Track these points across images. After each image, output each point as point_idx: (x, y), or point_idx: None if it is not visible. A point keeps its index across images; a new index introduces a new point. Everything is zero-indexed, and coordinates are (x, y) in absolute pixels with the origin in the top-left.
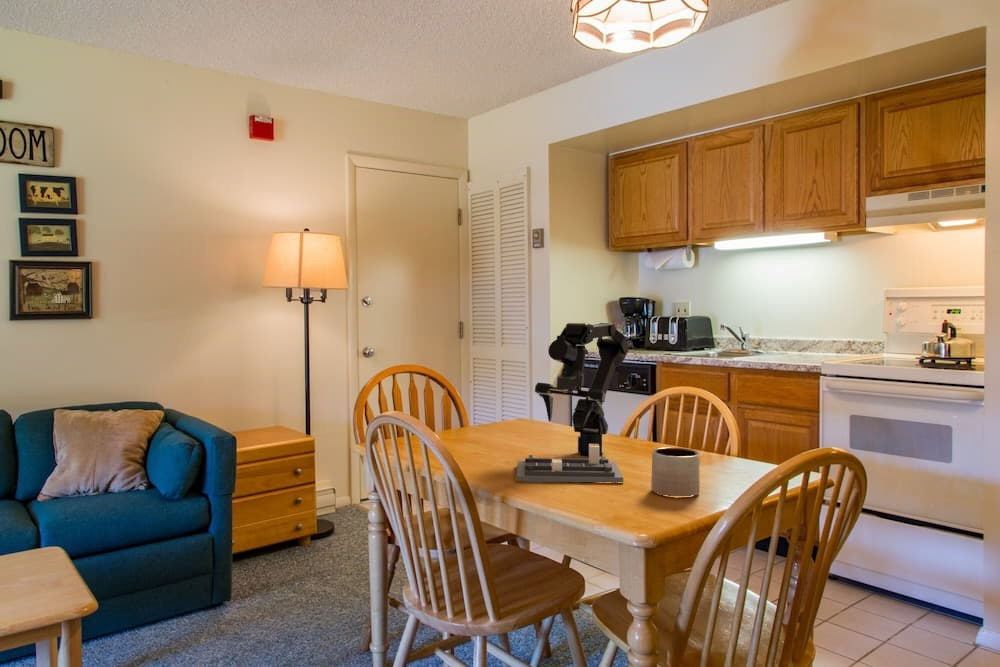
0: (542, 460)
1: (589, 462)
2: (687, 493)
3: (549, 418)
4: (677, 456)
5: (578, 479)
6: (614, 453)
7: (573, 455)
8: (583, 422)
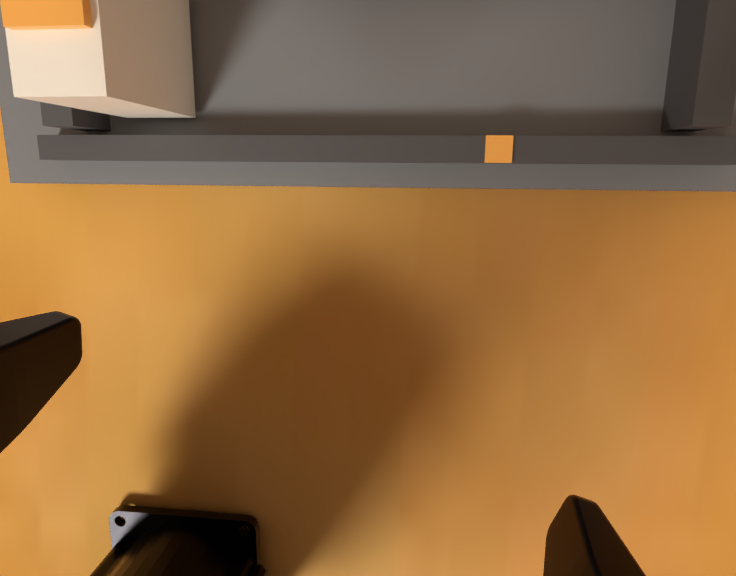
0: (577, 137)
1: (184, 47)
2: None
3: (594, 524)
4: None
5: None
6: (47, 569)
7: (304, 527)
8: (19, 321)
